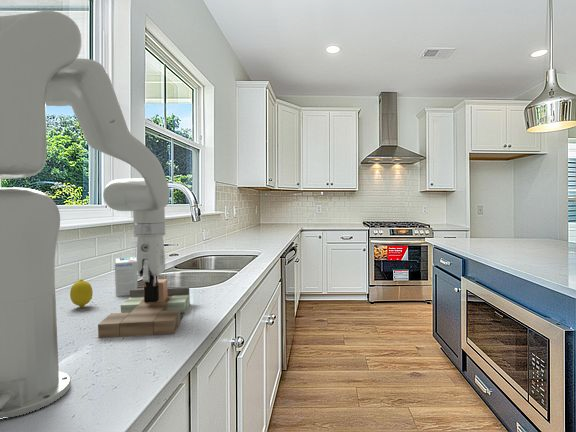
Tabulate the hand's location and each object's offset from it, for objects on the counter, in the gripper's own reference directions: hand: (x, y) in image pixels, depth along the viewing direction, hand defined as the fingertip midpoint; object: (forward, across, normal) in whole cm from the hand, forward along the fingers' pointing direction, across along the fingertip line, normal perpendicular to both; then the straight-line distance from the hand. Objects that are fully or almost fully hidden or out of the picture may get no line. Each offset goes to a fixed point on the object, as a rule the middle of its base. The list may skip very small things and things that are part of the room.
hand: (151, 301), depth 94 cm
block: (+1, +5, 0) cm, 5 cm away
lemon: (+4, +12, +22) cm, 26 cm away
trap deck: (+4, -2, 0) cm, 4 cm away
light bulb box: (+4, +29, +15) cm, 33 cm away
